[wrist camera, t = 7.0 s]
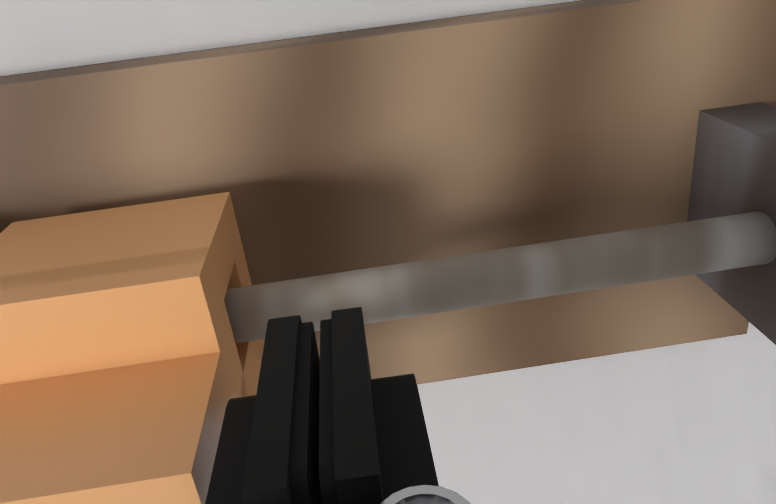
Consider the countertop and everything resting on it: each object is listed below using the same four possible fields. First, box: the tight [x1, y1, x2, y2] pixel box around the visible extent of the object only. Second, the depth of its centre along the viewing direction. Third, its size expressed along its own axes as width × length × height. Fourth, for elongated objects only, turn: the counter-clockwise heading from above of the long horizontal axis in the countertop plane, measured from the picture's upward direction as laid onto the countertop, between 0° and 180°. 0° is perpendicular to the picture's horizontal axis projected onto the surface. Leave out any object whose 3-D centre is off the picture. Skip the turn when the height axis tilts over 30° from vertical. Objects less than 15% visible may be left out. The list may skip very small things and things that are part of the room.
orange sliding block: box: [0, 192, 265, 504], centre depth 12 cm, size 5×4×7 cm
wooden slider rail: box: [0, 0, 776, 384], centre depth 14 cm, size 24×10×8 cm, turn 96°
